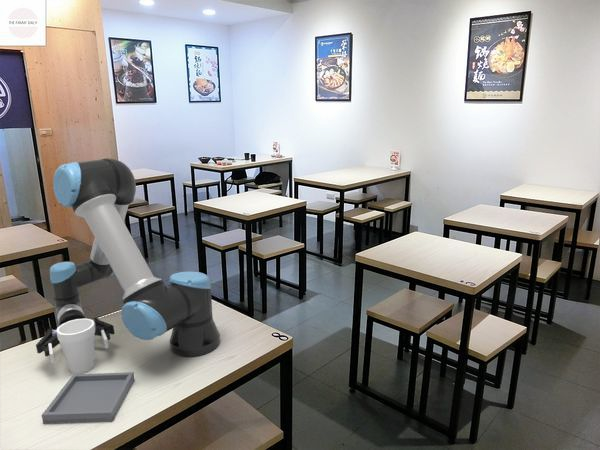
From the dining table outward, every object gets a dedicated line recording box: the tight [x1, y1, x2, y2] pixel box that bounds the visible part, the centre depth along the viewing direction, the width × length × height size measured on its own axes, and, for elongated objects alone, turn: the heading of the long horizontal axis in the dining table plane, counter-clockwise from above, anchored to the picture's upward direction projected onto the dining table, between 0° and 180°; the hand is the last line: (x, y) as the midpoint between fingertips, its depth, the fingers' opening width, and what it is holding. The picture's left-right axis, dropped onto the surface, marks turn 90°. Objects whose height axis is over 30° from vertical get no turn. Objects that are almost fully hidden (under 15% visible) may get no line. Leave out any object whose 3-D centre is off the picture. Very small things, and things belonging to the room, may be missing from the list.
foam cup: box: [56, 317, 95, 375], centre depth 122 cm, size 10×9×13 cm
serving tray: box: [41, 371, 136, 425], centre depth 110 cm, size 16×16×2 cm
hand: (80, 351), depth 119 cm, fingers open, 13 cm apart
